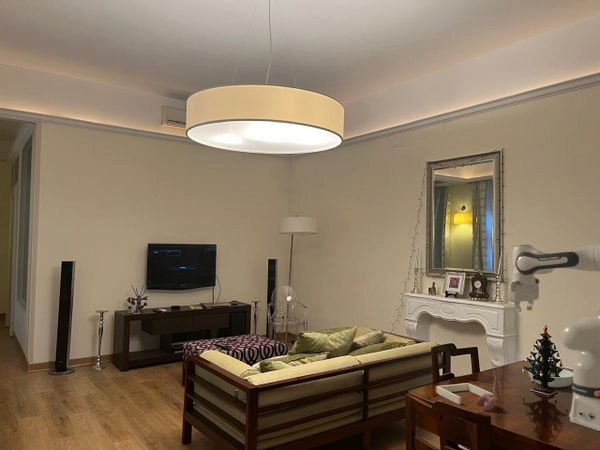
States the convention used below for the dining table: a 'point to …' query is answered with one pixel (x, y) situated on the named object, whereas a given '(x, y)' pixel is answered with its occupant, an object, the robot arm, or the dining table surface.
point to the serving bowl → (558, 379)
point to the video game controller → (487, 401)
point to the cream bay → (447, 390)
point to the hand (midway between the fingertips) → (524, 311)
